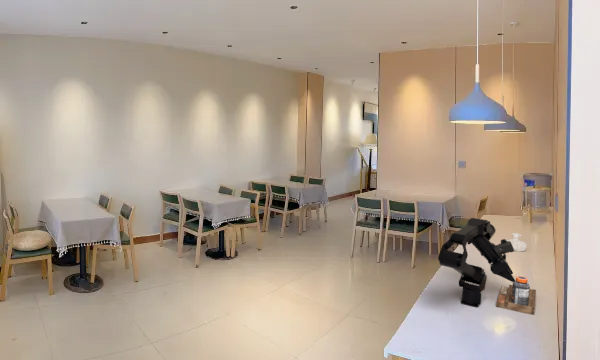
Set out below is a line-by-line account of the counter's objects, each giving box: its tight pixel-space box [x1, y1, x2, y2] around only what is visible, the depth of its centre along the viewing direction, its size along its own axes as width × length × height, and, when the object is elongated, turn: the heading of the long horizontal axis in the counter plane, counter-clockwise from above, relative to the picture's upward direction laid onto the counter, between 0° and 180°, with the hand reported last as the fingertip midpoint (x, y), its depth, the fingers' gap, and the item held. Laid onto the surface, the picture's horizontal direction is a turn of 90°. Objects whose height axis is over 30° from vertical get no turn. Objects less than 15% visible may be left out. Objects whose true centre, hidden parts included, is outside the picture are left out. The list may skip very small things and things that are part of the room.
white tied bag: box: [506, 232, 528, 253], centre depth 236 cm, size 12×8×11 cm
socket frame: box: [495, 284, 537, 316], centre depth 162 cm, size 13×22×2 cm, turn 149°
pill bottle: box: [511, 275, 531, 306], centre depth 156 cm, size 6×6×11 cm
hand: (513, 277), depth 156 cm, fingers open, 9 cm apart
